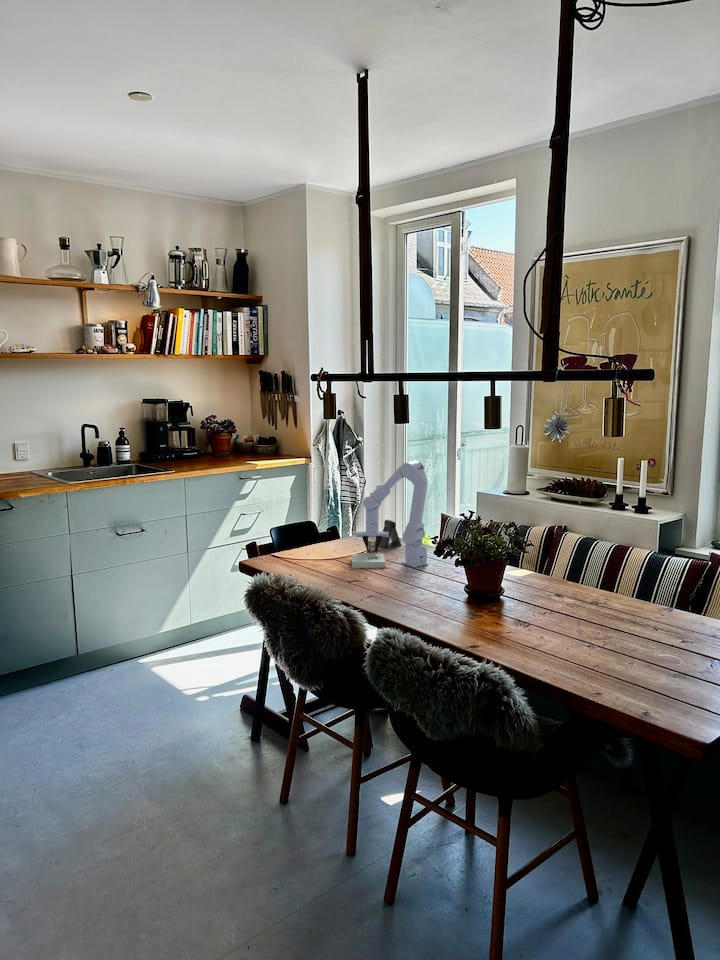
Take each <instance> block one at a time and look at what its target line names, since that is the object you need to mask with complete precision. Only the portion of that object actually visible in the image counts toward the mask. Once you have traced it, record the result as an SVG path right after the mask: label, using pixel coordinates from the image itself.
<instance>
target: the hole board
mask: <svg viewBox="0 0 720 960" xmlns="http://www.w3.org/2000/svg"><path fill="white" fill-rule="evenodd" d="M361 568H362V569H375V568H376V569H377V568H379V569H382V568H383V569H385V568H386V558H385V554H384V553H380V554H379V553H375V554H369V553H365V554H362V553H360V554H359V553H355V554H354V553H352V554H351V569H361Z"/></svg>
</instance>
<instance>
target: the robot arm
mask: <svg viewBox="0 0 720 960" xmlns="http://www.w3.org/2000/svg"><path fill="white" fill-rule="evenodd" d="M402 478H405V479H406V480H408V481H410V482H411V483H412V485H413V493H412V499H411V505H410V507H411V508H410V514H409V520H408V522H407V524H406V526H405V530H404V531H403V533H402V539H403V542H404V543H405V544H404V545H405V547H404V553H405V554H404V560H401V561H400V563H401V564H405V565H407V566H409V567H411V568H418V566H419V567H422V566H423V565H424V566H428V565H429V563H428V562H427V561H428V549H427V548H426V547H425V546H424V545H423V539H425V538H424V537H425V535H426V533H425V524H424V523H423V516H424V510H425V509H424V508H425V501H426V496H427V489H428V478H427V475H426V472H425V466H424V465H423V464H422V462H421V461H420V460H418V459H414V460H412V461H408V462H403V463H402V464H401V466H399V467H397V469H396V470H395V472H393V473H392V475H391V476H390V477H389V478H388V479H387V480H386V482H385V483H380V484H378V485H377V486H375V487H376V488H375V489H374V491H372V492H369V496H366V497H364V499H363V501H362V505H363V507H364V510H365V531H356V532H355V538H362V541H363V543H364V545H365V548H366V554H369V538H375V541H376V547H375V551H376V552H375V554H378V550H379V547H380V545H379V544H380V542H381V540H382V537H389V532H383V531H379V530H380V529H379V525H380V524H379V523H380V522H379V520H380V519H379V518H380V517H379V513H380V512H379V511H380V507H381V505H382V503H383V501H384V500H385V499H387V497H388V496H390V494H391V489H392V488H393V487H394V486H395V485H397V483H399V482H400V480H402Z"/></svg>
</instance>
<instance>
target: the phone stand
mask: <svg viewBox="0 0 720 960" xmlns="http://www.w3.org/2000/svg"><path fill="white" fill-rule="evenodd" d="M383 522H384V527H383V529H382V532H389V537H382V540H381V542H380V544H379V547H382V548H384V549H387V548H395V547H396V548H397V547H402V543H401V540H400V537H399V535H398V530H397V529H396V525H397V524H396V522H395V521H393V520H390V519H385V520H384V521H383ZM390 539H391V542H390Z"/></svg>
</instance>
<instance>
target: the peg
mask: <svg viewBox="0 0 720 960" xmlns="http://www.w3.org/2000/svg"><path fill="white" fill-rule="evenodd" d="M368 548H369V553H368V554H376V551H375V549H376V540H368Z"/></svg>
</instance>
